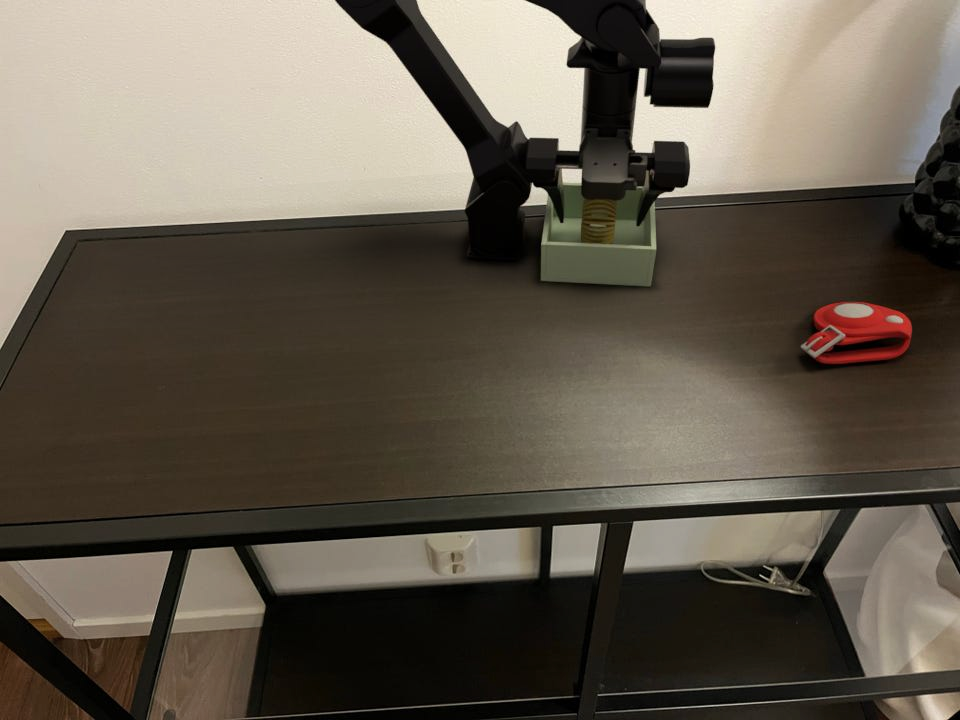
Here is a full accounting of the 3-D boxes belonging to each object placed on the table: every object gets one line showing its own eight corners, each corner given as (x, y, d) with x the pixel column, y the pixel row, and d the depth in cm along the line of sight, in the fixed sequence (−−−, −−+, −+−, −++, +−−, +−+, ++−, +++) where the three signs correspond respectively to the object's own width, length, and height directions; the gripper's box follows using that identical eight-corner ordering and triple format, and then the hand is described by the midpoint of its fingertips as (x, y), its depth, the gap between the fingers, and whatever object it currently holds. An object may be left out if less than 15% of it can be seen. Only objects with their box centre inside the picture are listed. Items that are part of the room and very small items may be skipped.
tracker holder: (816, 290, 86) (916, 296, 81) (814, 325, 88) (911, 332, 83) (798, 337, 77) (909, 347, 72) (796, 374, 79) (904, 386, 74)
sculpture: (582, 226, 97) (586, 173, 91) (614, 228, 97) (619, 174, 91) (578, 265, 92) (581, 210, 86) (611, 267, 91) (616, 212, 85)
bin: (540, 281, 91) (541, 244, 87) (548, 217, 100) (549, 181, 96) (650, 286, 89) (656, 249, 85) (648, 221, 98) (653, 185, 94)
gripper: (515, 139, 76) (517, 260, 87) (702, 144, 74) (680, 268, 85) (525, 88, 84) (526, 205, 95) (696, 91, 81) (676, 211, 92)
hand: (599, 222), depth 92 cm, fingers open, 9 cm apart
